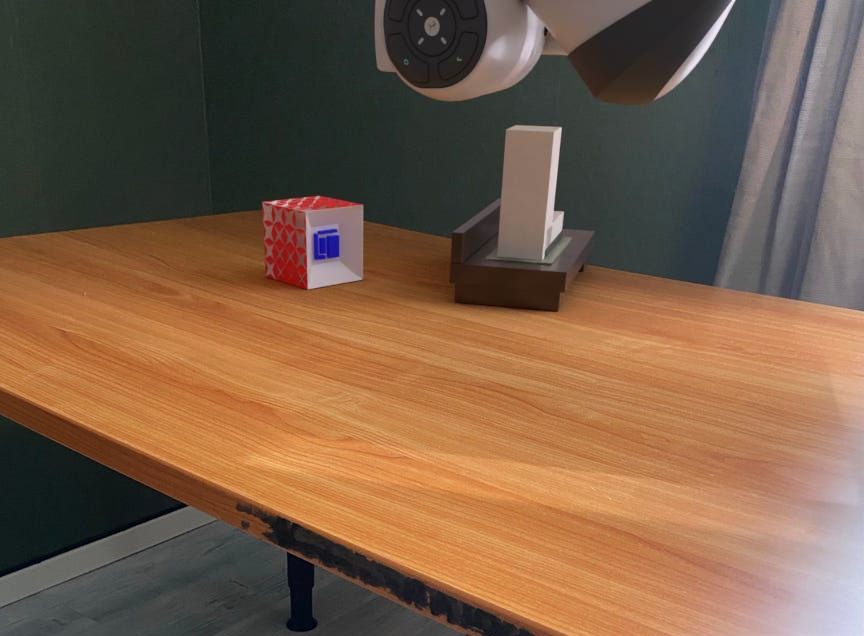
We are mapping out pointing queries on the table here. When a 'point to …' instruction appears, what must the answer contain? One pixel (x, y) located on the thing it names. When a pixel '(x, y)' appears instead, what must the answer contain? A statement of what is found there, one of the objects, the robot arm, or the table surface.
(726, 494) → the table surface
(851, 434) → the table surface
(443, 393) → the table surface
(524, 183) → the white upright block
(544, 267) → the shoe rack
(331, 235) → the red and white cube
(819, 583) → the table surface
